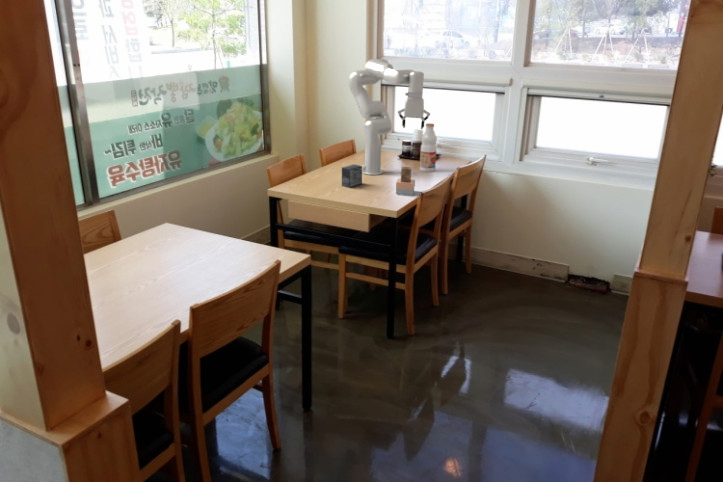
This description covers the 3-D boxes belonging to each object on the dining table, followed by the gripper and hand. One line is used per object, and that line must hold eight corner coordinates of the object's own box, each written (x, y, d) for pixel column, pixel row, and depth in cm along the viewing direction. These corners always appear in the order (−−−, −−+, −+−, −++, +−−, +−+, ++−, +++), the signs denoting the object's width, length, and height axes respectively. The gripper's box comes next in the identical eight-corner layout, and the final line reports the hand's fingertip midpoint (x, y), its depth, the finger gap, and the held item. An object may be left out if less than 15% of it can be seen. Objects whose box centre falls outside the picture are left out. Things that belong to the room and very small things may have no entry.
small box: (353, 182, 331) (353, 163, 327) (362, 184, 327) (362, 165, 323) (340, 185, 323) (341, 167, 320) (350, 188, 319) (350, 169, 316)
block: (400, 181, 308) (401, 168, 306) (401, 179, 313) (401, 166, 310) (410, 182, 308) (411, 169, 305) (410, 180, 312) (411, 167, 310)
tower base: (395, 195, 309) (396, 189, 308) (397, 190, 318) (397, 184, 317) (413, 196, 308) (413, 190, 307) (413, 191, 317) (414, 185, 316)
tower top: (395, 188, 308) (396, 182, 307) (398, 184, 317) (398, 178, 316) (413, 190, 307) (413, 183, 306) (414, 185, 315) (415, 179, 314)
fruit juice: (419, 168, 365) (422, 122, 356) (435, 169, 364) (438, 123, 354) (418, 171, 357) (421, 124, 347) (434, 172, 355) (437, 125, 346)
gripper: (398, 95, 311) (396, 128, 318) (431, 97, 309) (428, 130, 315) (399, 93, 318) (397, 125, 325) (432, 95, 316) (429, 127, 322)
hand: (412, 127), depth 320 cm, fingers open, 9 cm apart
